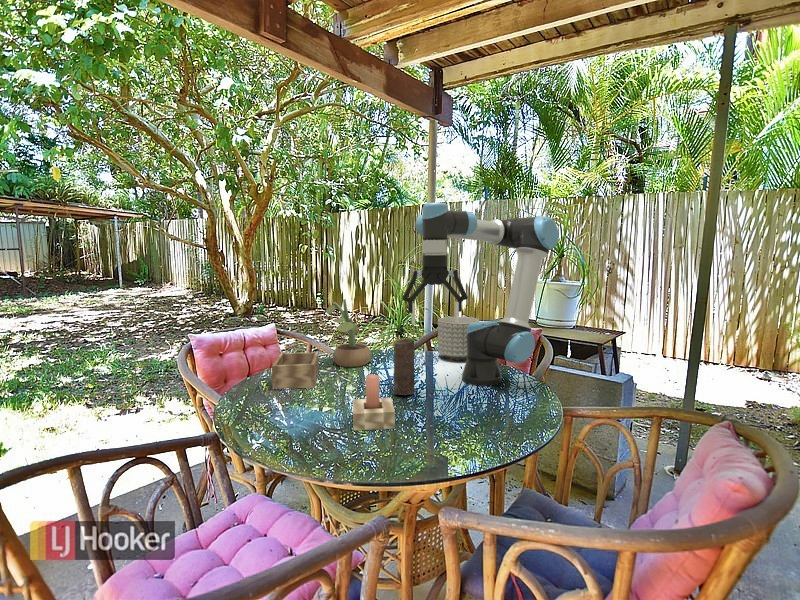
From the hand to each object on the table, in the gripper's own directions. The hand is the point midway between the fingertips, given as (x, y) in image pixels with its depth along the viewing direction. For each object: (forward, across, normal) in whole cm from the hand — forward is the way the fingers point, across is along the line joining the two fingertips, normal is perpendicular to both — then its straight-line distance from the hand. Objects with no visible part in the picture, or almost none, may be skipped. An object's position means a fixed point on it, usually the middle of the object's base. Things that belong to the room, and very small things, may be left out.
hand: (434, 322), depth 139 cm
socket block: (+29, +20, +6) cm, 35 cm away
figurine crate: (+29, +48, -38) cm, 68 cm away
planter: (+29, -23, -65) cm, 75 cm away
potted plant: (+29, +28, -60) cm, 72 cm away
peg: (+29, +20, +6) cm, 35 cm away
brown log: (+29, +8, -17) cm, 34 cm away
